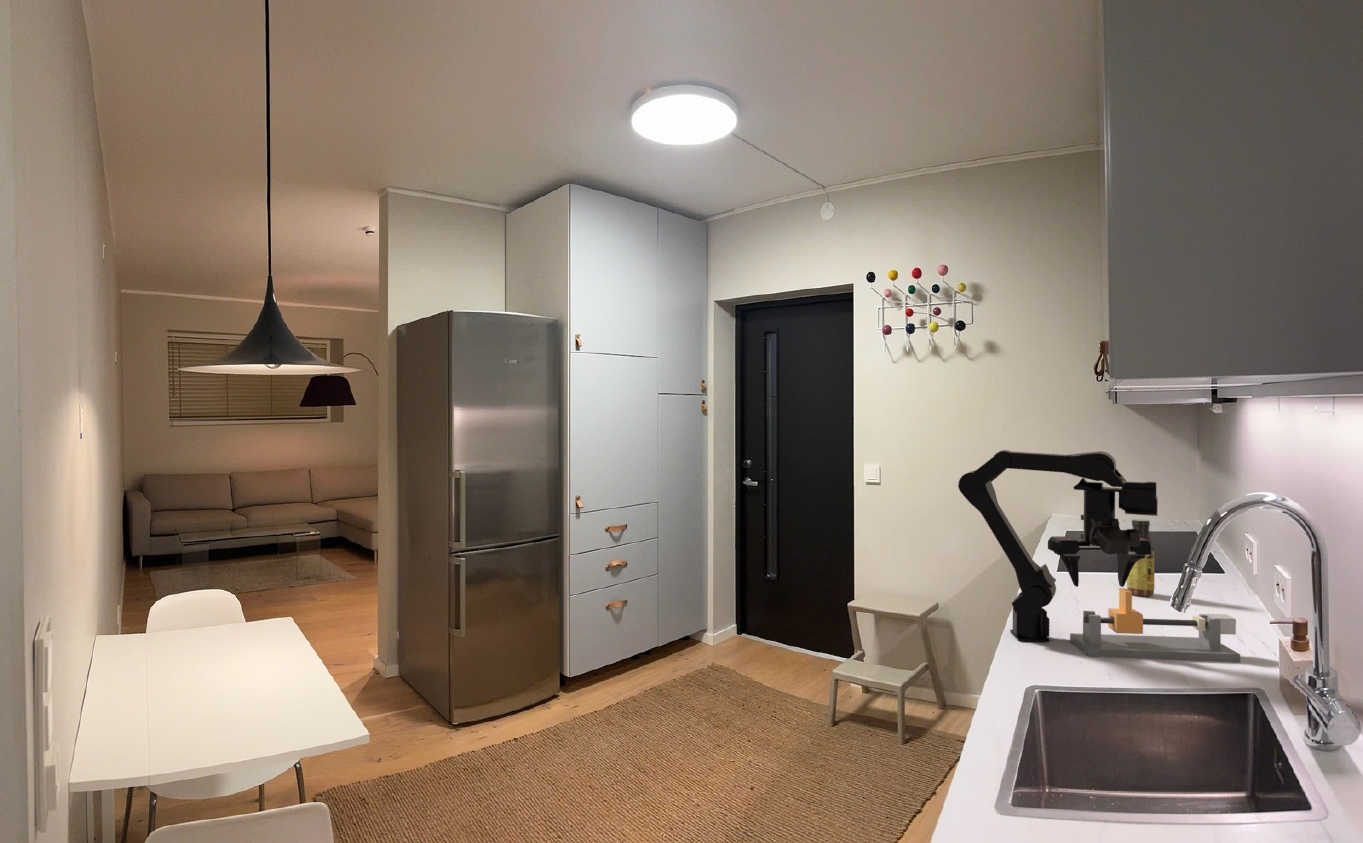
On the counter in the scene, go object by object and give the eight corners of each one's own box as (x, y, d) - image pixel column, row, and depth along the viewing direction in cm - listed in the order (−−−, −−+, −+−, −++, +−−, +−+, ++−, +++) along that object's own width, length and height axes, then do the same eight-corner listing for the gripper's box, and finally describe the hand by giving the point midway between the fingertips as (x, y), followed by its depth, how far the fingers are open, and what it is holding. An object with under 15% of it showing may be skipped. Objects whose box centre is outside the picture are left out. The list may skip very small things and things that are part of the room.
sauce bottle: (1153, 598, 190) (1153, 522, 189) (1125, 595, 194) (1125, 520, 193) (1155, 593, 195) (1155, 519, 195) (1128, 589, 199) (1128, 517, 198)
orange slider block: (1116, 633, 151) (1116, 592, 150) (1108, 627, 155) (1108, 587, 154) (1142, 634, 150) (1143, 593, 150) (1133, 628, 154) (1134, 588, 154)
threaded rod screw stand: (1088, 656, 149) (1088, 619, 149) (1070, 640, 159) (1070, 605, 158) (1245, 662, 144) (1246, 624, 144) (1216, 645, 154) (1217, 609, 154)
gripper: (1071, 518, 145) (1070, 596, 146) (1169, 518, 144) (1168, 597, 144) (1046, 509, 156) (1046, 582, 157) (1137, 509, 155) (1136, 582, 156)
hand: (1098, 586), depth 153 cm, fingers open, 9 cm apart
